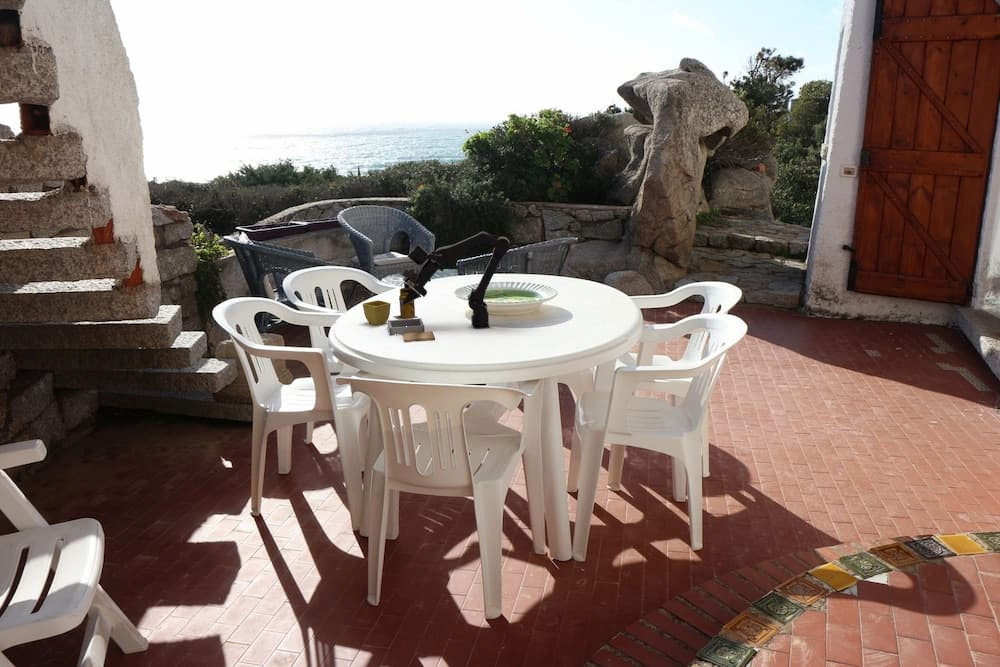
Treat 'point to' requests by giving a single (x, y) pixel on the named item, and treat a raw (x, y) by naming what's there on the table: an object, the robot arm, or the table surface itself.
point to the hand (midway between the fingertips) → (401, 302)
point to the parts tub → (401, 328)
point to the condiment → (406, 306)
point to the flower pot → (377, 311)
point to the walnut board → (418, 336)
